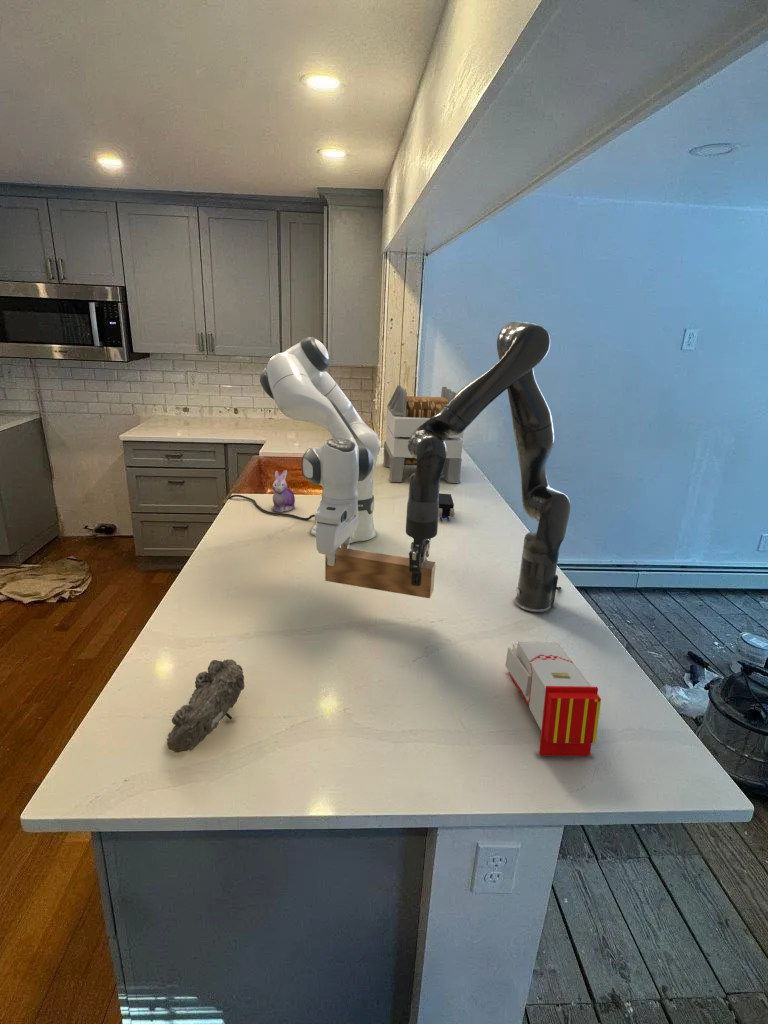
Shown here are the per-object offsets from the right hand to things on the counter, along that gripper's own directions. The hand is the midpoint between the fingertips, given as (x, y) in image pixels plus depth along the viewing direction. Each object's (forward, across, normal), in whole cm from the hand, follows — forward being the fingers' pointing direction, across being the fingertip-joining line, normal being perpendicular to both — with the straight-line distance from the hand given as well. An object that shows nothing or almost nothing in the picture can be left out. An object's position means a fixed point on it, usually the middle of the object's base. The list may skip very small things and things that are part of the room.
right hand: (418, 580), depth 139 cm
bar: (+3, 0, +10) cm, 11 cm away
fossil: (+12, -47, +29) cm, 56 cm away
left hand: (-3, 0, +21) cm, 21 cm away
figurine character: (+12, +80, +7) cm, 81 cm away
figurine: (+12, +65, +67) cm, 94 cm away
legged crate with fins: (+12, +137, +30) cm, 140 cm away
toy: (+12, -23, -32) cm, 41 cm away
